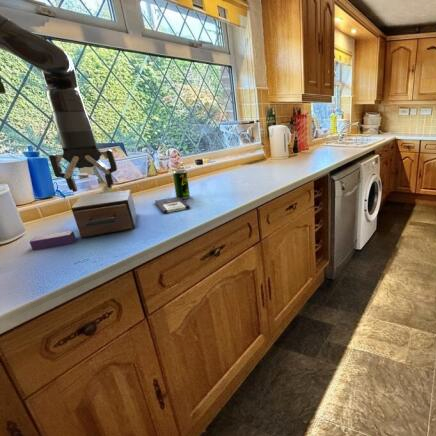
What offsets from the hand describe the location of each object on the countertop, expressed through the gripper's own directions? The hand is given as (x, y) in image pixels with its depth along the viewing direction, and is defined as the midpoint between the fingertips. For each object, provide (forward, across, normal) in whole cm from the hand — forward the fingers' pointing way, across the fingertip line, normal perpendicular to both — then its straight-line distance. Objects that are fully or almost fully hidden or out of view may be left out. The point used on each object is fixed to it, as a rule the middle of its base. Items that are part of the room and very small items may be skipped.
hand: (92, 188), depth 86 cm
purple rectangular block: (+15, +13, -2) cm, 20 cm away
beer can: (+15, -24, -34) cm, 44 cm away
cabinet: (+15, 0, -11) cm, 19 cm away
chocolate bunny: (+15, +2, -38) cm, 41 cm away
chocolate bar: (+15, -19, -24) cm, 34 cm away
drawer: (+14, 0, -6) cm, 15 cm away
